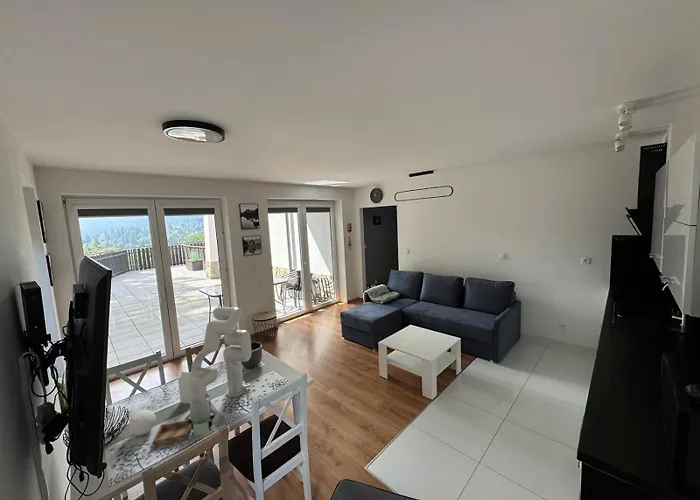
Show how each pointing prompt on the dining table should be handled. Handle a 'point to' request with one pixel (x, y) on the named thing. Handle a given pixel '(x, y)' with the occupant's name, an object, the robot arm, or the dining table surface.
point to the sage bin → (201, 427)
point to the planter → (254, 356)
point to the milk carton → (185, 387)
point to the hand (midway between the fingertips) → (202, 428)
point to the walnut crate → (172, 433)
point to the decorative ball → (142, 422)
